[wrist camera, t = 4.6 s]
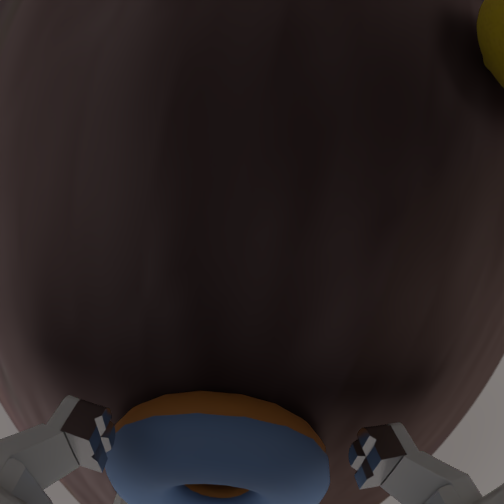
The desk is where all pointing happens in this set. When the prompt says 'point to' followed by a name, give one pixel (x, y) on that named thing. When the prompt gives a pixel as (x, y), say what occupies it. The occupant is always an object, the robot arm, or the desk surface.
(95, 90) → the desk surface
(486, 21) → the lemon
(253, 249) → the desk surface
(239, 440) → the doughnut
